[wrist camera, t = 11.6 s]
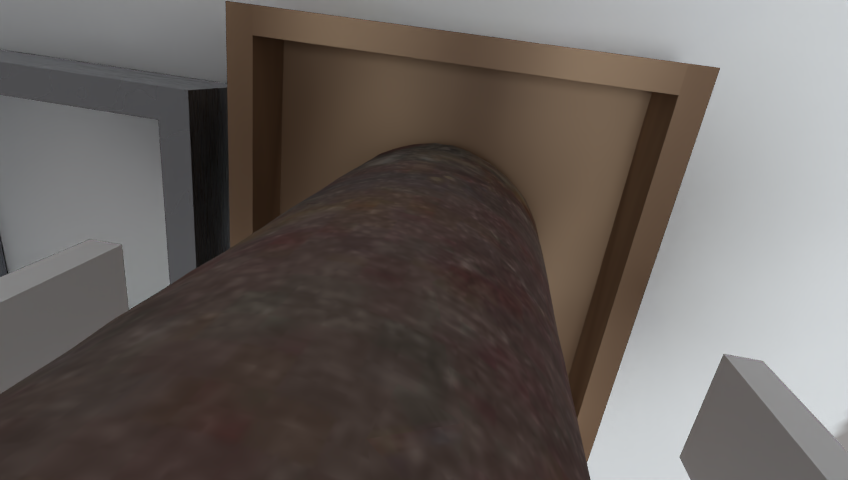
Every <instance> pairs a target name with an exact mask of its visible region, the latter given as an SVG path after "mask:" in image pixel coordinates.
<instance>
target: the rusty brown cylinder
mask: <svg viewBox="0 0 848 480" xmlns="http://www.w3.org/2000/svg"><path fill="white" fill-rule="evenodd" d="M0 480H590V476H589V471H588V467H587V462H586V457H585V453H584V448H583V444H582V439H581V434H580V430H579V425H578V421H577V416H576V412H575V407H574V403H573V398H572V394H571V389H570V384H569V379H568V375H567V370H566V365H565V361H564V357H563V352H562V348H561V344H560V340H559V336H558V331H557V326H556V321H555V316H554V310H553V305H552V299H551V294H550V288H549V283H548V277H547V272H546V267H545V262H544V258H543V253H542V249H541V245H540V242H539V237H538V232H537V228H536V223H535V221H534V218H533V216H532V213H531V211H530V208H529V206H528V204H527V202H526V200H525V198H524V197H523V195H522V194H521V193H520V192H519V190H518V189H517V188H516V187H515V186H514V185H513V184H512V183H511V181H510V180H509V179H508V178H507V177H506V176H505V175H504V174H502V173H501V172H500V171H499V170H497V169H496V168H495V167H494V166H493V165H491V164H490V163H488V162H486V161H485V160H483V159H481V158H479V157H478V156H476V155H474V154H472V153H471V152H469V151H466V150H463V149H461V148H458V147H455V146H453V145H444V144H439V143H426V144H413V145H408V146H403V147H399V148H395V149H392V150H389V151H386V152H383V153H381V154H379V155H377V156H376V157H374V158H373V159H371V160H369V161H367V162H365V163H364V164H362V165H361V166H359V167H357V168H355V169H353V170H352V171H350V172H348V173H346V174H345V175H343V176H341V177H340V178H338V179H336V180H335V181H333V182H332V183H330V184H329V185H327V186H326V187H324V188H323V189H321V190H320V191H318V192H317V193H315V194H313V195H311V196H310V197H308V198H306V199H305V200H303V201H302V202H300V203H298V204H297V205H295V206H294V207H292V208H290V209H289V210H287V211H286V212H284V213H283V214H281V215H280V216H278V217H277V218H275V219H274V220H272V221H271V222H270V223H268V224H267V225H265V226H264V227H262V228H261V229H259V230H257V231H256V232H254V233H253V234H251V235H250V236H248V237H247V238H245V239H243V240H242V241H240V242H239V243H237V244H236V245H234V246H233V247H231V248H230V249H228V250H227V251H225V252H224V253H222V254H220V255H218V256H217V257H215V258H213V259H211V260H210V261H208V262H206V263H204V264H202V265H201V266H199V267H197V268H195V269H194V270H192V271H190V272H189V273H187V274H186V275H184V276H183V277H181V278H180V279H178V280H177V281H175V282H174V283H172V284H170V285H169V286H167V287H166V288H164V289H163V290H161V291H160V292H158V293H157V294H155V295H153V296H152V297H150V298H148V299H147V300H145V301H143V302H142V303H140V304H138V305H136V306H135V307H133V308H131V309H130V310H128V311H126V312H125V313H123V314H121V315H120V316H118V317H116V318H115V319H113V320H112V321H110V322H109V323H107V324H106V325H104V326H103V327H102V328H100V329H99V330H97V331H96V332H95V333H93V334H92V335H90V336H89V337H87V338H86V339H85V340H83V341H82V342H80V343H79V344H78V345H76V346H75V347H73V348H72V349H70V350H69V351H67V352H66V353H64V354H62V355H61V356H59V357H58V358H56V359H55V360H53V361H51V362H50V363H48V364H47V365H45V366H43V367H42V368H40V369H39V370H37V371H36V372H34V373H32V374H31V375H29V376H28V377H26V378H25V379H23V380H21V381H20V382H18V383H17V384H15V385H14V386H12V387H10V388H9V389H7V390H6V391H4V392H2V393H1V394H0Z"/></svg>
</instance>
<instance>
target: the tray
mask: <svg viewBox="0 0 848 480" xmlns="http://www.w3.org/2000/svg"><path fill="white" fill-rule="evenodd" d="M226 47H227V102H228V156H229V211H230V248H231V247H233V246H234V245H236V244H237V243H239V242H240V241H242V240H243V239H245V238H247V237H248V236H250V235H251V234H253V233H254V232H256V231H257V230H259V229H261V228H262V227H264V226H265V225H267V224H268V223H270V222H271V221H272V220H274V219H275V218H277V217H278V216H280V215H281V214H283V213H284V212H286V211H287V210H289V209H290V208H292V207H294V206H295V205H297V204H298V203H300V202H302V201H303V200H305V199H306V198H308V197H310V196H311V195H313V194H315V193H317V192H318V191H320V190H321V189H323V188H324V187H326V186H327V185H329V184H330V183H332V182H333V181H335V180H336V179H338V178H340V177H341V176H343V175H345V174H346V173H348V172H350V171H352V170H353V169H355V168H357V167H359V166H361V165H362V164H364V163H365V162H367V161H369V160H371V159H373V158H374V157H376V156H377V155H379V154H381V153H383V152H386V151H389V150H392V149H395V148H399V147H403V146H408V145H413V144H426V143H439V144H444V145H453V146H455V147H458V148H461V149H463V150H466V151H469V152H471V153H472V154H474V155H476V156H478V157H479V158H481V159H483V160H485V161H486V162H488V163H490V164H491V165H493V166H494V167H495V168H496V169H497V170H499V171H500V172H501V173H502V174H504V175H505V176H506V177H507V178H508V179H509V180H510V181H511V183H512V184H513V185H514V186H515V187H516V188H517V189H518V190H519V192H520V193H521V194H522V195H523V197H524V198H525V200H526V202H527V204H528V206H529V208H530V211H531V213H532V216H533V218H534V221H535V223H536V228H537V232H538V237H539V242H540V245H541V249H542V253H543V258H544V262H545V267H546V272H547V277H548V283H549V288H550V294H551V299H552V305H553V310H554V316H555V321H556V326H557V331H558V336H559V340H560V344H561V348H562V352H563V357H564V361H565V365H566V370H567V375H568V379H569V384H570V389H571V394H572V398H573V403H574V407H575V412H576V416H577V421H578V425H579V430H580V434H581V439H582V444H583V448H584V453H585V457H586V462H587V461H588V458H589V455H590V452H591V449H592V446H593V443H594V441H595V438H596V435H597V432H598V429H599V426H600V423H601V420H602V417H603V414H604V411H605V408H606V405H607V402H608V399H609V396H610V393H611V390H612V387H613V384H614V381H615V378H616V375H617V372H618V369H619V366H620V363H621V360H622V357H623V354H624V352H625V349H626V346H627V343H628V340H629V337H630V334H631V331H632V328H633V325H634V322H635V319H636V316H637V313H638V310H639V307H640V304H641V301H642V298H643V295H644V292H645V289H646V286H647V283H648V280H649V277H650V274H651V271H652V268H653V265H654V263H655V260H656V257H657V254H658V251H659V248H660V245H661V242H662V239H663V236H664V233H665V230H666V227H667V224H668V221H669V218H670V215H671V212H672V209H673V206H674V203H675V200H676V197H677V194H678V191H679V188H680V185H681V182H682V179H683V176H684V174H685V171H686V168H687V165H688V162H689V159H690V156H691V153H692V150H693V147H694V144H695V141H696V138H697V135H698V132H699V129H700V126H701V123H702V120H703V117H704V114H705V111H706V108H707V105H708V102H709V99H710V96H711V93H712V90H713V87H714V85H715V82H716V79H717V76H718V73H719V70H720V68H716V67H709V66H701V65H694V64H687V63H679V62H672V61H665V60H657V59H650V58H643V57H635V56H628V55H620V54H613V53H606V52H598V51H591V50H584V49H576V48H569V47H562V46H554V45H547V44H539V43H532V42H525V41H517V40H510V39H503V38H495V37H488V36H481V35H473V34H466V33H458V32H451V31H444V30H436V29H429V28H422V27H414V26H407V25H400V24H392V23H385V22H377V21H370V20H363V19H355V18H348V17H341V16H333V15H326V14H318V13H311V12H304V11H296V10H289V9H282V8H274V7H267V6H260V5H252V4H245V3H237V2H230V1H226Z"/></svg>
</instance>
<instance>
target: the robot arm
mask: <svg viewBox="0 0 848 480" xmlns="http://www.w3.org/2000/svg"><path fill="white" fill-rule="evenodd" d="M128 310H129V307H128V298H127V288H126V279H125V270H124V261H123V251H122V245H120V244H115V243H109V242H104V241H98V240H93V239H89V240H87V241H84V242H82V243H80V244H77V245H75V246H73V247H70V248H68V249H65V250H63V251H61V252H58V253H56V254H54V255H51V256H49V257H47V258H44V259H42V260H39V261H37V262H35V263H32V264H30V265H28V266H25V267H23V268H21V269H18V270H16V271H14V272H11V273H9V274H6V275H4V276H2V277H0V394H1V393H2V392H4V391H6V390H7V389H9V388H10V387H12V386H14V385H15V384H17V383H18V382H20V381H21V380H23V379H25V378H26V377H28V376H29V375H31V374H32V373H34V372H36V371H37V370H39V369H40V368H42V367H43V366H45V365H47V364H48V363H50V362H51V361H53V360H55V359H56V358H58V357H59V356H61V355H62V354H64V353H66V352H67V351H69V350H70V349H72V348H73V347H75V346H76V345H78V344H79V343H80V342H82V341H83V340H85V339H86V338H87V337H89V336H90V335H92V334H93V333H95V332H96V331H97V330H99V329H100V328H102V327H103V326H104V325H106V324H107V323H109V322H110V321H112V320H113V319H115V318H116V317H118V316H120V315H121V314H123V313H125V312H126V311H128ZM680 459H681V461H682V463H683V465H684V467H685V469H686V471H687V473H688V475H689V477H690V479H691V480H848V451H847V450H846V449H845V448H844V447H843V446H842V445H841V444H840V443H839V442H838V441H837V439H836V438H835V437H834V436H833V435H832V434H831V433H830V432H829V431H828V430H827V429H826V428H825V427H824V426H823V425H822V423H821V422H820V421H819V420H818V419H817V418H816V417H815V416H814V415H813V414H812V413H811V412H810V411H809V410H808V409H807V407H806V406H805V405H804V404H803V403H802V402H801V401H800V400H799V399H798V398H797V397H796V396H795V395H794V394H793V393H792V391H791V390H790V389H789V388H788V387H787V386H786V385H785V384H784V383H783V382H782V381H781V380H780V379H779V378H778V377H777V375H776V374H775V373H774V372H773V371H772V370H771V369H770V368H769V367H768V366H767V365H766V364H765V363H764V362H763V361H760V360H755V359H749V358H744V357H738V356H733V355H727V354H723V357H722V359H721V361H720V364H719V366H718V368H717V371H716V373H715V375H714V378H713V380H712V382H711V385H710V387H709V389H708V392H707V394H706V396H705V399H704V401H703V403H702V406H701V408H700V410H699V413H698V415H697V417H696V420H695V422H694V424H693V427H692V429H691V431H690V434H689V436H688V439H687V441H686V443H685V446H684V448H683V450H682V453H681V455H680Z"/></svg>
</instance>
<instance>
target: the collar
mask: <svg viewBox="0 0 848 480" xmlns="http://www.w3.org/2000/svg"><path fill="white" fill-rule="evenodd" d="M0 95H5V96H12V97H18V98H24V99H31V100H37V101H43V102H50V103H56V104H62V105H69V106H75V107H81V108H88V109H94V110H100V111H107V112H113V113H119V114H126V115H132V116H138V117H145V118H151V119H157V120H158V121H159V135H160V149H161V164H162V178H163V192H164V206H165V221H166V235H167V249H168V263H169V278H170V284H172V283H174V282H175V281H177V280H178V279H180V278H181V277H183V276H184V275H186V274H187V273H189V272H190V271H192V270H194V269H195V268H197V267H199V266H201V265H202V264H204V263H206V262H208V261H210V260H211V259H213V258H215V257H217V256H218V255H220V254H222V253H224V252H225V251H227V250H228V249H230V211H229V156H228V102H227V83H220V82H214V81H207V80H200V79H194V78H187V77H180V76H174V75H167V74H160V73H154V72H147V71H140V70H134V69H127V68H120V67H114V66H107V65H100V64H94V63H87V62H80V61H74V60H67V59H60V58H54V57H47V56H40V55H34V54H27V53H20V52H14V51H7V50H0ZM6 274H7V269H6V265H5V260H4V255H3V250H2V245H1V240H0V277H2V276H4V275H6Z"/></svg>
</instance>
